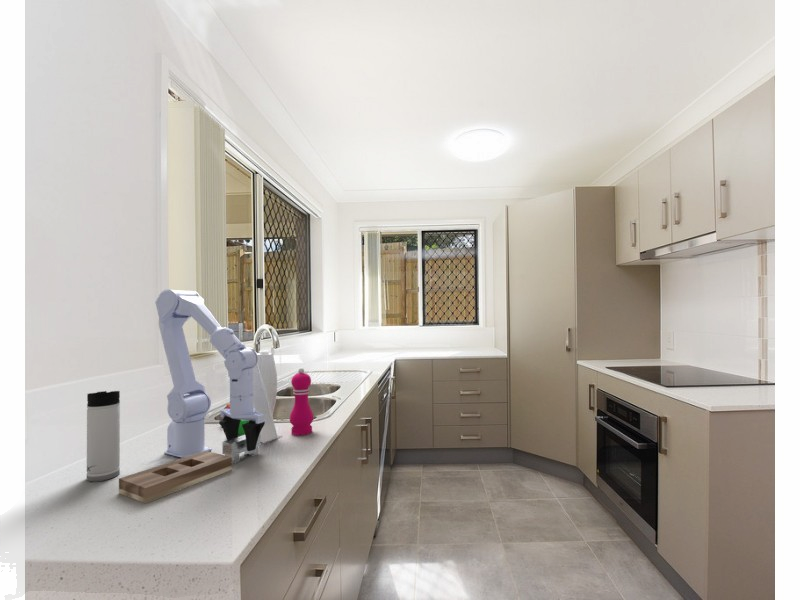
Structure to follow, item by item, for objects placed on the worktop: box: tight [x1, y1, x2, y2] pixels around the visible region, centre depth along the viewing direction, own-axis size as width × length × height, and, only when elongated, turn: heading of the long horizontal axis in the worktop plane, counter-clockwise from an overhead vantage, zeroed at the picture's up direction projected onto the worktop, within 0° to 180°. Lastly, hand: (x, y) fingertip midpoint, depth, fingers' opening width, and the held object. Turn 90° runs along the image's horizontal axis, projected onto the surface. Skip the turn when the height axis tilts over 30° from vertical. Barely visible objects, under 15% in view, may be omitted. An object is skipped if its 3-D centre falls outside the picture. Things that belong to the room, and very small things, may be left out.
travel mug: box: [86, 390, 121, 483], centre depth 97 cm, size 6×7×20 cm
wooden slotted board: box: [118, 451, 233, 504], centre depth 94 cm, size 10×20×3 cm, turn 150°
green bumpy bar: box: [238, 420, 249, 436], centre depth 131 cm, size 11×4×5 cm, turn 173°
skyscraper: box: [253, 345, 283, 444], centre depth 124 cm, size 8×8×28 cm
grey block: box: [221, 434, 261, 464], centre depth 108 cm, size 4×9×5 cm, turn 150°
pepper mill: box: [289, 367, 314, 436], centre depth 130 cm, size 7×7×20 cm
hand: (241, 447), depth 108 cm, fingers open, 7 cm apart
